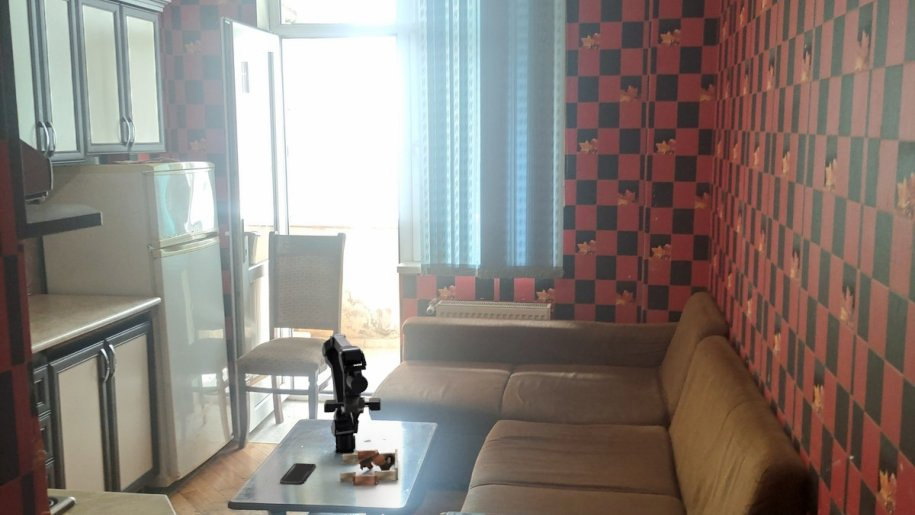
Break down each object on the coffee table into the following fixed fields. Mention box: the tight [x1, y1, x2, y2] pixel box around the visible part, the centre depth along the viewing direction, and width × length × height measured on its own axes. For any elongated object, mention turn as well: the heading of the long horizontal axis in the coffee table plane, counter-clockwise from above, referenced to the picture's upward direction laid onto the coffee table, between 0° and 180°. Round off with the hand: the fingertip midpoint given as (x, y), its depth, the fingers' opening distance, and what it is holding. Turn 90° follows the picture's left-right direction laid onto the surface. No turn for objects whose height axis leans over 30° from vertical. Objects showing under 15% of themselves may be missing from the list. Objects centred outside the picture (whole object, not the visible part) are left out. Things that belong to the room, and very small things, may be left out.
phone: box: [279, 462, 317, 485], centre depth 270 cm, size 8×1×15 cm
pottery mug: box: [358, 451, 395, 472], centre depth 270 cm, size 12×10×8 cm
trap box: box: [339, 448, 399, 487], centre depth 272 cm, size 18×22×4 cm
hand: (353, 429), depth 277 cm, fingers closed
